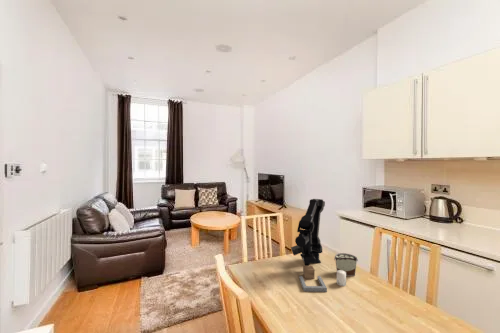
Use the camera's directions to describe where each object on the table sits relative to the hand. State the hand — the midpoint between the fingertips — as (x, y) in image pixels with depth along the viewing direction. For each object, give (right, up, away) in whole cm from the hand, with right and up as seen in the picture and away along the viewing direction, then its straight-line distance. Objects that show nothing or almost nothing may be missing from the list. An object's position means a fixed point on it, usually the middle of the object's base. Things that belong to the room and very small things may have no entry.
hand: (306, 268), depth 129 cm
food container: (+21, -2, -2) cm, 21 cm away
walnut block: (0, -2, -6) cm, 6 cm away
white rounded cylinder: (+14, -2, -13) cm, 20 cm away
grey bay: (-1, -2, -14) cm, 14 cm away
